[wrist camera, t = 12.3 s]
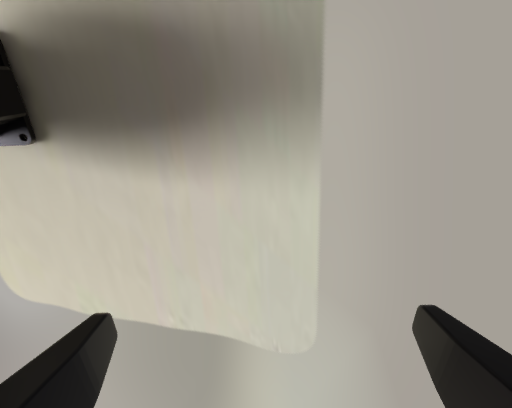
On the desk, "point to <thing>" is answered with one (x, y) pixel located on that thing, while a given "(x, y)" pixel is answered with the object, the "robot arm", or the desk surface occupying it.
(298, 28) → the desk surface
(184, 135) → the desk surface
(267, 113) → the desk surface
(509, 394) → the robot arm
